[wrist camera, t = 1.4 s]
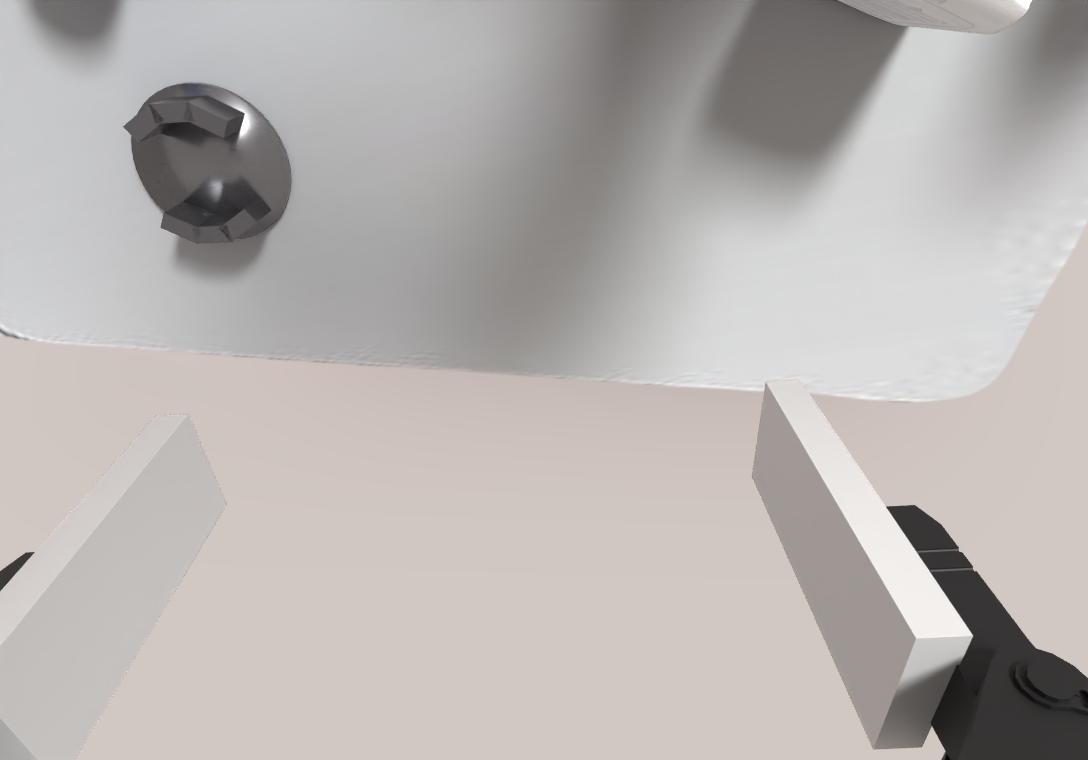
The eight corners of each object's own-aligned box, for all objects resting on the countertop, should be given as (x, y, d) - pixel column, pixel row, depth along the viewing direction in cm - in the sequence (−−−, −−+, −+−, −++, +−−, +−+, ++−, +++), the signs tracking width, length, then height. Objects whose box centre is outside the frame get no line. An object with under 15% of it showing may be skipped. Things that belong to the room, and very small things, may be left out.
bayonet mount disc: (110, 86, 44) (79, 94, 41) (268, 78, 44) (248, 84, 41) (166, 240, 50) (143, 256, 47) (306, 233, 50) (292, 249, 47)
